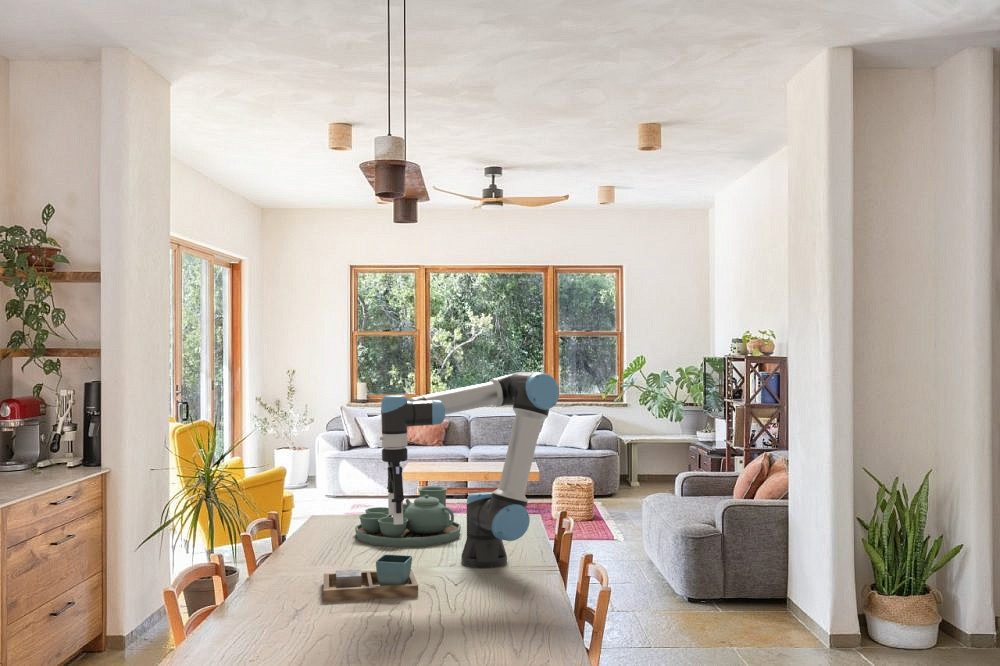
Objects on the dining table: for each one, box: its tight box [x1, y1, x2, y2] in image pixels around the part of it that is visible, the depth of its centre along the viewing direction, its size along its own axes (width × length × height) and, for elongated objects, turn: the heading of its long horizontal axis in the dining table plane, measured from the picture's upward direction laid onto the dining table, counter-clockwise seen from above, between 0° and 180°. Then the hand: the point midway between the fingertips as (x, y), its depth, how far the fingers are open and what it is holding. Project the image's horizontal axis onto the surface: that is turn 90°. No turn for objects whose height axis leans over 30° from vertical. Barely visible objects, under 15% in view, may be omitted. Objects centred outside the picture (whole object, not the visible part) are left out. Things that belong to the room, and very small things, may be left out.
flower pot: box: [375, 554, 413, 586], centre depth 239 cm, size 9×9×9 cm
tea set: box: [354, 485, 462, 548], centre depth 314 cm, size 40×40×16 cm
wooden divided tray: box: [322, 568, 419, 603], centre depth 238 cm, size 26×18×4 cm
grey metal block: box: [335, 569, 362, 588], centre depth 237 cm, size 7×7×5 cm
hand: (395, 519), depth 245 cm, fingers open, 13 cm apart
